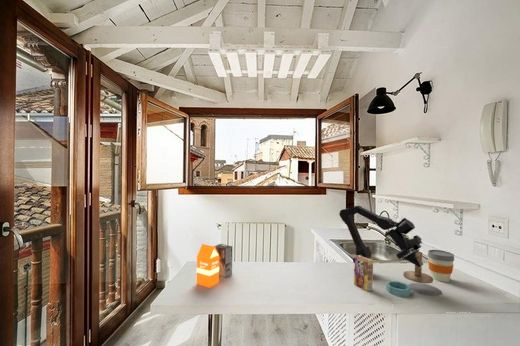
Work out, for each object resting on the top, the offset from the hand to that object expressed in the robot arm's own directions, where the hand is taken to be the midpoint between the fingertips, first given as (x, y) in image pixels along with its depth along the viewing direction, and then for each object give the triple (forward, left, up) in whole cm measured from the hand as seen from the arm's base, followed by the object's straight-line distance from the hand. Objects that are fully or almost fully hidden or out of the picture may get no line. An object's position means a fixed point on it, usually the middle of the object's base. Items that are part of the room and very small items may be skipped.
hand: (421, 265), depth 136 cm
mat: (+4, +3, -13) cm, 14 cm away
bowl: (-11, -2, -13) cm, 18 cm away
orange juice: (-108, -5, -14) cm, 109 cm away
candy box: (-27, +2, -14) cm, 31 cm away
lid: (-1, +1, -7) cm, 7 cm away
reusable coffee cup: (+20, +19, -14) cm, 31 cm away
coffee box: (-103, +8, -14) cm, 105 cm away
